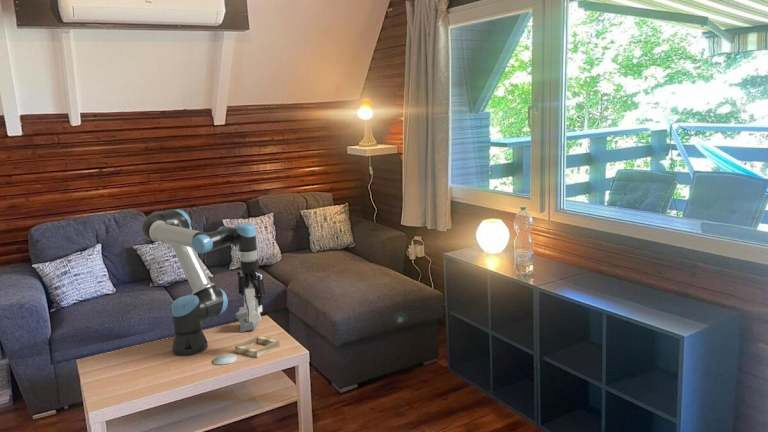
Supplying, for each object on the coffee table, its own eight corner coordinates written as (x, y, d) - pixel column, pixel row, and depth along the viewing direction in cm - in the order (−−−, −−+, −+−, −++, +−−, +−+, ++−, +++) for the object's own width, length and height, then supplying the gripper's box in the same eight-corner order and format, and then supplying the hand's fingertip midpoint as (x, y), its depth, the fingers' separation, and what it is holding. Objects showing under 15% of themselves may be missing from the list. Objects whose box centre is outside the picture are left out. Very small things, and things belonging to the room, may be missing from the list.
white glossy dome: (208, 362, 259) (208, 360, 259) (226, 353, 267) (226, 352, 267) (224, 366, 253) (224, 365, 253) (242, 357, 261) (242, 356, 261)
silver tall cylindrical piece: (264, 316, 271) (261, 284, 268) (259, 322, 264) (256, 289, 261) (248, 316, 271) (246, 284, 268) (243, 322, 264) (241, 289, 262)
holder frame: (235, 351, 268) (234, 346, 268) (257, 341, 279) (257, 335, 279) (257, 357, 261) (256, 352, 260) (279, 346, 272) (279, 341, 271)
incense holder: (241, 325, 300) (239, 305, 298) (258, 324, 301) (256, 304, 299) (237, 333, 291) (235, 312, 289) (254, 331, 291) (252, 311, 289)
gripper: (226, 259, 265) (231, 310, 269) (258, 264, 254) (263, 317, 258) (239, 255, 271) (244, 304, 275) (271, 260, 260) (276, 311, 264)
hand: (253, 310), depth 267 cm, fingers closed on silver tall cylindrical piece, 7 cm apart
